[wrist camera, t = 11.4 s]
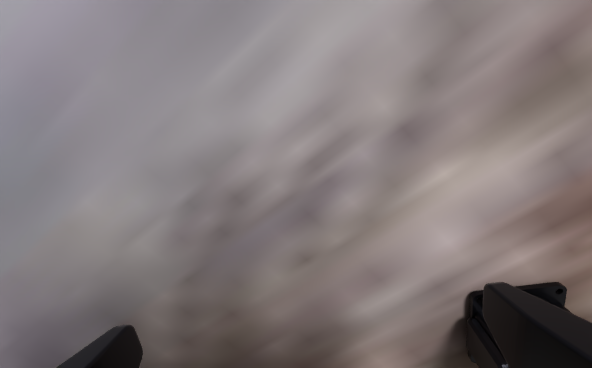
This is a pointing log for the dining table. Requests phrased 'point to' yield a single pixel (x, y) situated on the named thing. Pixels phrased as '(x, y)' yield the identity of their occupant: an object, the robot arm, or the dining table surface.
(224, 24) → the dining table surface
